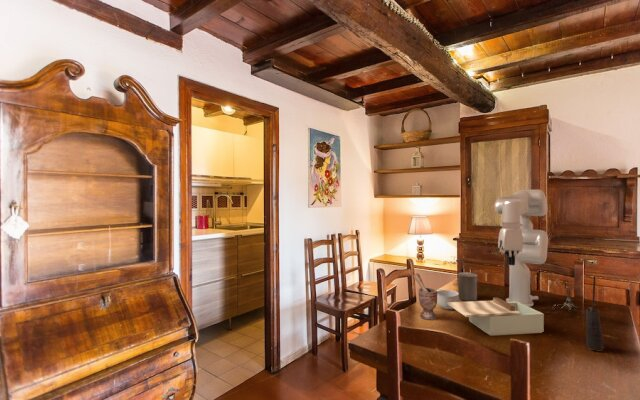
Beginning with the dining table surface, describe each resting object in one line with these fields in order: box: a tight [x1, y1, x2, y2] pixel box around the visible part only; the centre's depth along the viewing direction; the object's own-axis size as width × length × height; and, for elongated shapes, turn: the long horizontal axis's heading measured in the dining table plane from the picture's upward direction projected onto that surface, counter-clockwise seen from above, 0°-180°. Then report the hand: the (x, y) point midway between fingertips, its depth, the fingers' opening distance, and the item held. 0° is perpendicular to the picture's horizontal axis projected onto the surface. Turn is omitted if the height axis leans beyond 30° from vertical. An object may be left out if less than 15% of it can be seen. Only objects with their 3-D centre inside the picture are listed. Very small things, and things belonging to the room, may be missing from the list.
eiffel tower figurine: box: [552, 285, 578, 311], centre depth 171 cm, size 15×10×13 cm
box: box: [468, 302, 545, 337], centre depth 149 cm, size 24×16×8 cm, turn 96°
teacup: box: [437, 288, 460, 311], centre depth 175 cm, size 14×11×8 cm
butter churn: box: [585, 275, 605, 350], centre depth 128 cm, size 9×10×28 cm
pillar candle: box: [457, 271, 478, 302], centre depth 188 cm, size 10×10×15 cm
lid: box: [447, 297, 521, 318], centre depth 148 cm, size 24×16×3 cm, turn 96°
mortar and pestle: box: [413, 273, 438, 321], centre depth 161 cm, size 12×9×20 cm
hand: (510, 264), depth 159 cm, fingers closed
